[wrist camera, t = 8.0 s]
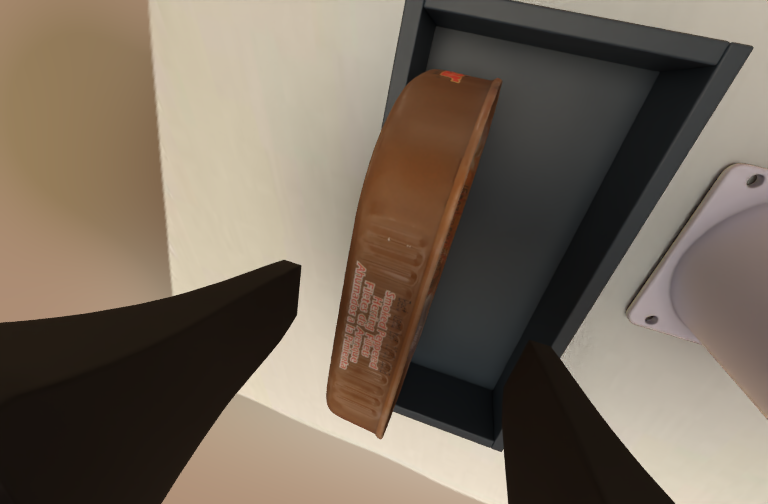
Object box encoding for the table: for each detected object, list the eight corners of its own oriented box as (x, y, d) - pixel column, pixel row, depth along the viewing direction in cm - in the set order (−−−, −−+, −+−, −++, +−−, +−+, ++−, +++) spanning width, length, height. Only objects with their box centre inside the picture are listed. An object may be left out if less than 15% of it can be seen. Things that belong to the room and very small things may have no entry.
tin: (415, 349, 21) (380, 489, 14) (368, 332, 21) (308, 460, 14) (505, 84, 14) (533, 76, 6) (431, 67, 14) (377, 42, 7)
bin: (679, 58, 12) (756, 45, 9) (498, 393, 21) (501, 452, 18) (427, 8, 14) (408, -20, 10) (355, 343, 23) (332, 389, 19)
